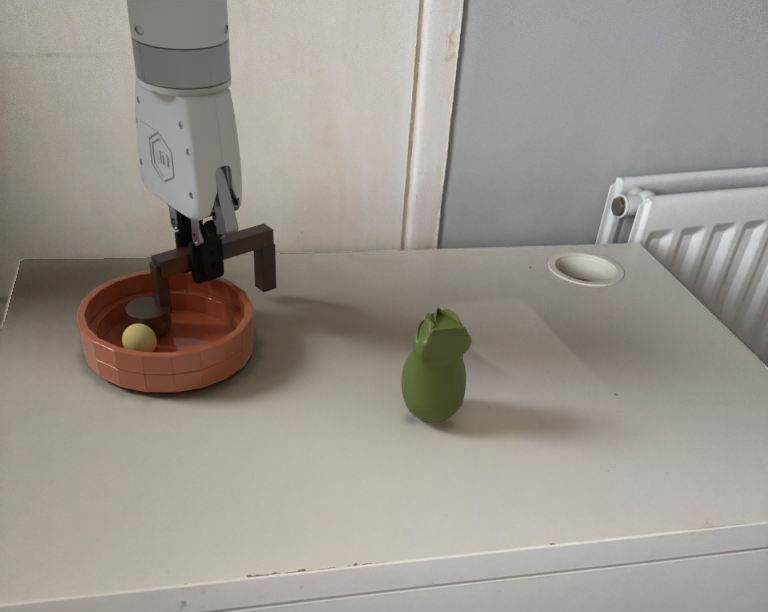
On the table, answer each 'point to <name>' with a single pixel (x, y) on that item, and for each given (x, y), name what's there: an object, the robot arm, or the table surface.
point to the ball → (139, 338)
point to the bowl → (169, 333)
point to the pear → (436, 367)
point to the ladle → (177, 261)
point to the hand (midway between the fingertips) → (201, 272)
